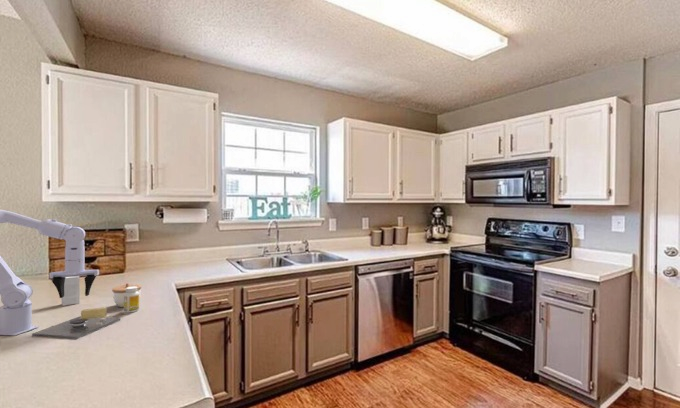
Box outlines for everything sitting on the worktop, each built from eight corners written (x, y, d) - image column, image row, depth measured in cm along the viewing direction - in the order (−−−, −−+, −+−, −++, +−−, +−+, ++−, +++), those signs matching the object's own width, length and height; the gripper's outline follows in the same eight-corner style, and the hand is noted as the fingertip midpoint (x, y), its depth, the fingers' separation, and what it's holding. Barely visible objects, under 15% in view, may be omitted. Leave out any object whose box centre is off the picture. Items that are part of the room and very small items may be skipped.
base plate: (32, 335, 112) (32, 329, 112) (80, 318, 130) (80, 312, 130) (77, 338, 110) (77, 332, 110) (120, 320, 128) (120, 314, 128)
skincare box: (78, 301, 152) (78, 275, 152) (79, 303, 149) (79, 276, 149) (61, 304, 148) (61, 277, 148) (62, 306, 145) (62, 278, 145)
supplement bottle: (121, 313, 136) (121, 289, 136) (128, 308, 141) (128, 286, 142) (135, 312, 137) (135, 289, 137) (141, 308, 142) (141, 285, 142)
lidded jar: (106, 307, 144) (106, 285, 144) (130, 300, 154) (130, 280, 154) (123, 309, 140) (123, 287, 140) (146, 303, 150) (146, 282, 150)
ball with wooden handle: (67, 324, 116) (67, 313, 116) (72, 320, 121) (72, 309, 121) (104, 320, 121) (104, 310, 121) (107, 316, 125) (107, 306, 125)
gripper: (45, 262, 118) (45, 301, 118) (95, 259, 124) (95, 296, 124) (53, 259, 125) (53, 296, 125) (100, 257, 130) (100, 292, 130)
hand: (74, 296), depth 125 cm, fingers open, 7 cm apart
